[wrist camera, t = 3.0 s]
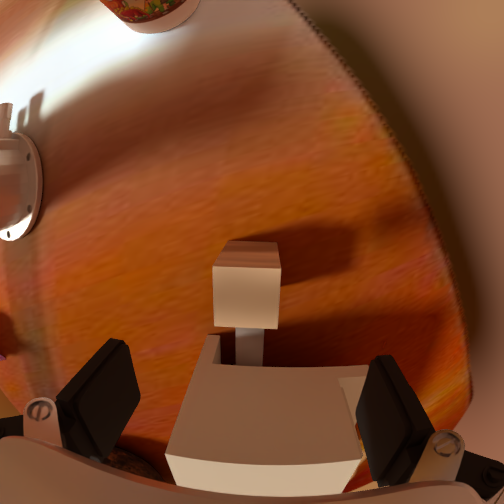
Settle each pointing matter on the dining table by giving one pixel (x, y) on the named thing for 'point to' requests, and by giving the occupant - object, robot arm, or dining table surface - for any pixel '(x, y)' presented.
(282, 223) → the dining table surface
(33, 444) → the robot arm
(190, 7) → the milk bottle
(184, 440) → the white box on stand
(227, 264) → the tool
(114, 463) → the glass bottle
